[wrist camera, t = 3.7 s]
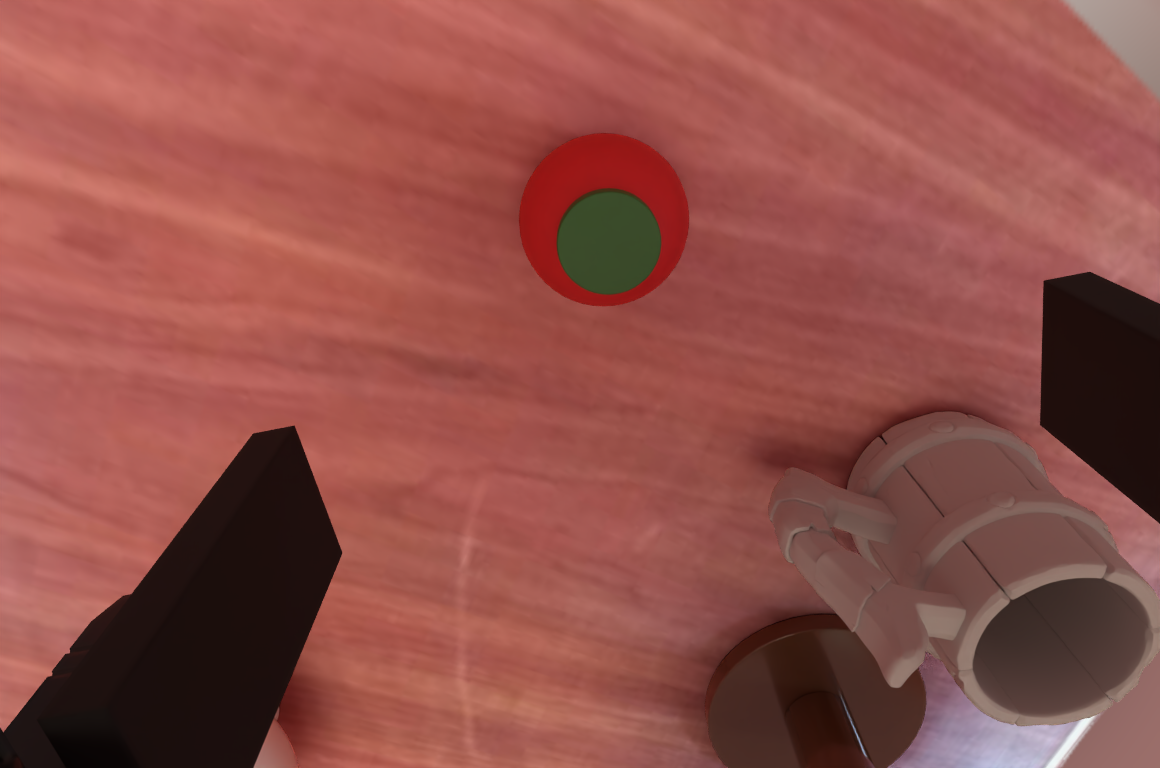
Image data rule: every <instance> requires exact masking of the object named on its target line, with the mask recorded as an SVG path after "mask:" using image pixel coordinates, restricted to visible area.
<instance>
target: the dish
mask: <svg viewBox="0 0 1160 768" xmlns="http://www.w3.org/2000/svg"><path fill="white" fill-rule="evenodd" d="M925 710H926V690H925V685H924V681H923V678H922V676H921V674H920V671H919V669H918V668H917V669H916V670H915V671H914V672H913V673H912V674H911V675H910V676H909V677H908V679H907V680H906V681H905V682H904V684H903V685H902V686H901V687H900V688H894V687H891V686H890V685H889V684H888V683H887V681H886V680H885V678H884V676H883V674H882V671H881V669H880V667H879V664H878V662H877V661H876V659H875V657H874V656H873V655H872V653H871V652H870V651H869V649H868V648H867V647H866V646H865V644H864V643H863V642H862V640H861V639H860V638H859V636H858V635H857V634H856V632H855V631H854V632H851V630H850V629H849V627H848V626H847V625H846V624H845V622H844V621H843V620H842V619H841V618H840V617H839V615H830V614H821V615H808V616H802V617H796V618H792V619H788V620H785V621H781V622H778V623H776V624H773V625H771V626H768V627H766V628H764V629H762V630H760V631H758V632H756V633H754V634H753V635H751V636H750V637H748V638H747V639H745V640H744V641H742V642H741V643H740V644H739V645H738V646H736V647H735V648H734V649H733V650H732V651H731V652H730V653H729V654H728V655H727V656H726V657H725V658H724V659H723V661H722V662H721V664H720V665H719V666H718V668H717V669H716V671H715V673H714V675H713V677H712V679H711V681H710V684H709V687H708V689H707V693H706V699H705V717H706V723H707V728H708V732H709V737H710V740H711V743H712V746H713V748H714V750H715V751H716V753H717V755H718V757H719V758H720V759H721V760H722V762H723V763H724V764H725V765H726V766H727V767H728V768H887V767H888V766H890V765H891V764H893V763H894V762H895V761H896V760H897V759H898V758H899V757H900V756H901V755H902V754H903V753H904V752H905V751H906V750H907V748H908V747H909V746H910V745H911V743H912V742H913V740H914V739H915V737H916V736H917V734H918V732H919V729H920V727H921V725H922V722H923V719H924V716H925Z"/></svg>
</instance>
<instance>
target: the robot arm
mask: <svg viewBox="0 0 1160 768" xmlns="http://www.w3.org/2000/svg"><path fill="white" fill-rule="evenodd" d="M1040 425H1041V426H1042V427H1043V428H1045V429H1046V430H1047V431H1048V432H1049V433H1051V434H1052V435H1053V436H1054V437H1055V438H1057V439H1058V440H1059V441H1060V442H1061V443H1063V444H1064V445H1065V446H1066V447H1068V448H1069V449H1070V450H1071V451H1072V452H1074V453H1075V454H1076V455H1077V456H1078V457H1080V458H1081V459H1082V460H1083V461H1085V462H1086V463H1087V464H1088V465H1089V466H1091V467H1092V468H1093V469H1094V470H1095V471H1097V472H1098V473H1099V474H1100V475H1101V476H1103V477H1104V478H1105V479H1106V480H1108V481H1109V482H1110V483H1111V484H1112V485H1114V486H1115V487H1116V488H1117V489H1118V490H1120V491H1121V492H1122V493H1123V494H1125V495H1126V496H1127V497H1128V498H1129V499H1131V500H1132V501H1133V502H1134V503H1135V504H1137V505H1138V506H1139V507H1140V508H1141V509H1143V510H1144V511H1145V512H1146V513H1148V514H1149V515H1150V516H1151V517H1152V518H1154V519H1155V520H1156V521H1157V522H1158V523H1160V304H1159V303H1157V302H1155V301H1152V300H1150V299H1148V298H1146V297H1144V296H1141V295H1139V294H1137V293H1135V292H1133V291H1131V290H1128V289H1126V288H1124V287H1122V286H1120V285H1117V284H1115V283H1113V282H1111V281H1109V280H1107V279H1104V278H1102V277H1100V276H1098V275H1096V274H1094V273H1091V272H1086V273H1081V274H1076V275H1071V276H1066V277H1061V278H1055V279H1050V280H1045V281H1044V289H1043V330H1042V371H1041V412H1040ZM341 555H342V551H341V548H340V545H339V543H338V540H337V537H336V535H335V532H334V529H333V527H332V524H331V521H330V519H329V516H328V513H327V511H326V508H325V505H324V503H323V500H322V497H321V495H320V492H319V489H318V487H317V484H316V481H315V479H314V476H313V473H312V471H311V468H310V465H309V463H308V460H307V457H306V455H305V452H304V449H303V447H302V444H301V441H300V439H299V436H298V433H297V431H296V428H295V426H290V427H285V428H280V429H274V430H269V431H264V432H259V433H254V434H253V435H252V436H251V437H250V439H249V440H248V441H247V442H246V444H245V445H244V446H243V448H242V449H241V450H240V452H239V453H238V454H237V456H236V457H235V458H234V460H233V461H232V462H231V464H230V465H229V466H228V468H227V469H226V470H225V472H224V473H223V474H222V476H221V477H220V478H219V479H218V481H217V482H216V483H215V485H214V486H213V487H212V489H211V490H210V491H209V493H208V494H207V495H206V497H205V498H204V499H203V501H202V502H201V503H200V505H199V506H198V507H197V509H196V510H195V511H194V512H193V514H192V515H191V516H190V518H189V519H188V520H187V522H186V523H185V524H184V526H183V527H182V528H181V530H180V531H179V532H178V534H177V535H176V536H175V538H174V539H173V540H172V542H171V543H170V544H169V546H168V547H167V548H166V549H165V551H164V552H163V553H162V555H161V556H160V557H159V559H158V560H157V561H156V563H155V564H154V565H153V567H152V568H151V569H150V571H149V572H148V573H147V575H146V576H145V577H144V579H143V580H142V581H141V583H140V584H139V585H138V586H137V588H136V589H135V590H134V592H133V593H132V594H130V595H125V596H122V597H121V598H120V599H119V600H117V601H116V602H115V603H114V604H112V605H111V606H110V607H109V608H107V609H106V610H105V611H104V612H102V613H101V614H100V615H99V616H97V617H96V618H95V619H94V620H93V621H91V622H90V624H89V625H88V626H87V627H86V629H85V630H84V631H83V633H82V634H81V635H80V636H79V638H78V639H77V640H76V641H75V643H74V644H73V645H72V646H71V648H70V653H69V654H65V655H64V657H63V658H62V659H61V660H60V662H59V663H58V664H57V665H56V667H55V668H54V669H53V671H52V673H53V674H52V676H50V677H47V678H46V679H45V681H44V682H43V683H42V684H41V686H40V687H39V688H38V689H37V691H36V692H35V693H34V695H33V696H32V697H31V698H30V700H29V701H28V702H27V703H26V705H25V706H24V707H23V708H22V710H21V711H20V712H19V714H18V715H17V716H16V717H15V719H14V720H13V721H12V722H11V724H10V725H9V726H8V727H7V729H6V730H5V731H4V733H3V731H2V730H1V728H0V768H254V765H255V763H256V760H257V758H258V756H259V753H260V751H261V748H262V746H263V743H264V741H265V739H266V736H267V734H268V731H269V729H270V727H271V724H272V722H273V719H274V717H275V715H276V712H277V710H278V707H279V705H280V702H281V700H282V698H283V695H284V693H285V690H286V688H287V686H288V683H289V681H290V678H291V676H292V674H293V671H294V669H295V666H296V664H297V661H298V659H299V657H300V654H301V652H302V649H303V647H304V645H305V642H306V640H307V637H308V635H309V632H310V630H311V628H312V625H313V623H314V620H315V618H316V616H317V613H318V611H319V608H320V606H321V604H322V601H323V599H324V596H325V594H326V591H327V589H328V587H329V584H330V582H331V579H332V577H333V575H334V572H335V570H336V567H337V565H338V563H339V560H340V558H341Z"/></svg>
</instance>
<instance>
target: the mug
mask: <svg viewBox="0 0 1160 768" xmlns="http://www.w3.org/2000/svg"><path fill="white" fill-rule="evenodd" d="M882 437H883V439H884V441H883V440H882V439H881V438H880V437H877V438H876V439H875V440H874V441H872V443H871V444H870V445H869V446H868V447H867V448H866V449H865V450H864V451H863V453H862V454H861V456H860V457H859V459H858V460H857V462H856V464H855V465H854V467H853V470H852V472H851V475H850V478H849V481H848V486H847V490H846V489H843V488H840V487H838V486H835V485H833V484H831V483H829V482H827V481H825V480H823V479H821V478H819V477H818V476H816V475H814V474H812V473H809V472H806V471H804V470H801V469H798V468H794V467H790V468H788V469H787V470H786V471H785V474H784V477H782V478H781V479H780V480H779V482H778V483H777V485H776V486H775V488H774V489H773V492H772V495H771V499H770V503H769V508H768V513H769V518H770V521H771V522H772V523H773V525H774V528H775V533H776V536H777V539H778V543H779V546H780V549H781V552H782V554H783V556H784V557H785V559H786V560H787V561H788V562H789V563H793V564H795V566H796V567H797V569H798V570H799V572H800V573H801V574H802V576H803V577H804V578H805V579H806V580H807V582H808V583H809V584H810V585H811V586H812V587H813V588H814V589H815V591H816V593H817V594H818V595H819V596H820V597H821V598H822V599H823V600H824V601H825V602H826V603H827V604H828V605H829V606H830V607H831V608H832V609H833V610H834V611H835V612H836V613H837V614H838V615H839V617H840V618H841V619H842V620H843V621H844V622H845V624H846V625H847V626H848V627H849V629H850V630H851V632H854V631H855V632H856V634H857V635H858V636H859V638H860V639H861V640H862V642H863V643H864V644H865V646H866V647H867V648H868V649H869V651H870V652H871V653H872V655H873V656H874V657H875V659H876V661H877V662H878V664H879V667H880V669H881V671H882V674H883V676H884V678H885V680H886V681H887V683H888V684H889V685H890V686H891V687H894V688H900V687H901V686H902V685H903V684H904V682H905V681H906V680H907V679H908V677H909V676H910V675H911V674H912V673H913V672H914V671H915V670H916V669H917V668H918V667H919V666H920V665H921V664H922V663H923V661H924V658H925V652H926V651H927V652H928V653H930V654H932V655H933V657H935V658H937V659H939V660H941V661H942V662H943V663H944V665H945V667H946V668H947V670H948V671H949V673H950V674H951V676H952V677H953V678H954V680H955V682H956V683H957V684H958V686H959V687H960V688H961V690H962V691H963V692H964V694H965V695H966V696H967V698H968V699H969V700H970V701H971V702H972V703H973V704H974V705H975V706H976V707H977V708H978V709H979V710H980V711H982V712H983V713H985V714H986V715H988V716H990V717H992V718H994V719H996V720H998V721H1001V722H1004V723H1008V724H1012V725H1013V724H1016V725H1017V726H1030V725H1059V724H1066V723H1069V722H1074V721H1078V720H1081V719H1084V718H1090V717H1092V716H1095V715H1097V714H1099V713H1100V712H1102V711H1104V710H1106V709H1108V708H1109V707H1111V706H1112V705H1113V703H1112V701H1111V700H1110V698H1111V699H1112V700H1114V701H1116V702H1119V701H1120V700H1121V699H1122V698H1123V697H1124V696H1125V695H1126V694H1127V693H1128V692H1129V691H1131V690H1132V689H1133V688H1134V687H1136V686H1137V684H1138V682H1139V677H1140V675H1141V673H1142V671H1143V669H1144V667H1145V666H1147V665H1149V664H1150V663H1151V661H1152V660H1153V658H1154V657H1155V656H1156V655H1157V654H1158V653H1159V651H1160V599H1159V598H1158V596H1157V594H1156V593H1155V592H1154V590H1153V589H1152V588H1151V586H1150V585H1149V584H1148V583H1147V582H1146V581H1145V580H1144V579H1143V578H1142V577H1141V576H1140V575H1139V574H1138V573H1137V572H1136V571H1135V570H1134V569H1133V568H1132V567H1131V566H1130V565H1129V564H1128V562H1127V561H1126V560H1125V559H1124V558H1123V557H1122V556H1121V555H1120V554H1119V552H1118V549H1117V546H1116V544H1115V541H1114V539H1113V537H1112V535H1111V533H1110V532H1108V526H1107V525H1106V523H1105V522H1104V521H1103V520H1102V519H1101V518H1100V517H1099V516H1098V515H1096V514H1095V513H1094V512H1093V511H1089V510H1088V509H1087V508H1085V507H1083V506H1081V505H1079V504H1078V503H1076V502H1074V501H1072V500H1071V499H1068V498H1066V497H1064V496H1063V495H1062V494H1061V493H1060V492H1059V491H1058V490H1057V489H1056V488H1055V487H1054V486H1053V485H1052V484H1051V483H1050V482H1049V480H1048V477H1047V474H1046V472H1045V469H1044V467H1043V465H1042V463H1041V461H1040V460H1039V459H1038V456H1037V454H1036V452H1035V450H1034V449H1033V448H1032V447H1031V446H1030V445H1029V444H1027V443H1025V442H1023V441H1022V440H1021V439H1020V438H1019V437H1018V436H1016V435H1015V434H1014V433H1012V432H1011V431H1009V430H1007V429H1003V428H1001V427H998V426H996V425H994V424H991V423H988V422H987V421H985V420H983V419H981V418H979V417H975V416H972V415H967V416H966V415H965V414H963V413H960V412H953V411H944V412H934V413H931V414H927V415H923V416H920V417H917V418H913V419H910V420H907V421H905V422H902V423H899V424H897V425H894V426H893V427H891V428H890V429H888V430H887V431H885V432H884V433H883V434H882ZM832 527H834V528H837V529H840V530H843V531H846V532H849V533H851V535H852V539H853V541H854V543H855V546H856V548H857V549H858V551H859V553H860V555H861V556H860V555H859V554H857V553H855V552H852V551H849V550H846V549H845V548H844V547H842V546H841V545H840V544H839V543H837V539H836V537H835V535H834V533H833V532H832V530H831V529H830V528H832ZM1109 697H1110V698H1109Z"/></svg>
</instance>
